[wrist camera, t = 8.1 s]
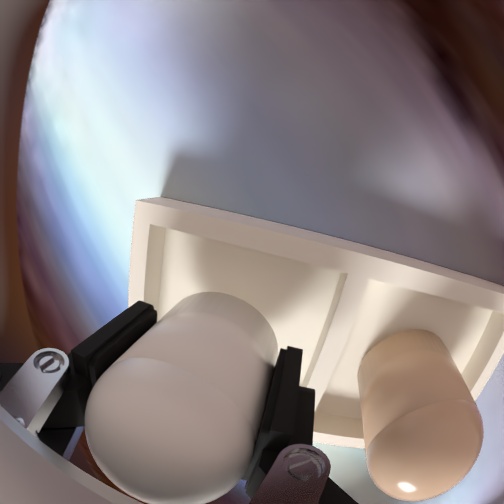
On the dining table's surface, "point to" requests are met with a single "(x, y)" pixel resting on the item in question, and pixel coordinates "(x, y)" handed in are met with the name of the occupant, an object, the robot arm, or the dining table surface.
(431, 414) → the brown egg
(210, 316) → the white egg
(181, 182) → the dining table surface
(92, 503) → the robot arm
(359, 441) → the caddy
